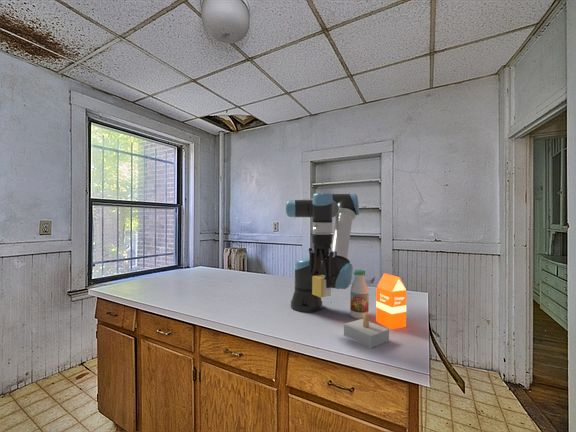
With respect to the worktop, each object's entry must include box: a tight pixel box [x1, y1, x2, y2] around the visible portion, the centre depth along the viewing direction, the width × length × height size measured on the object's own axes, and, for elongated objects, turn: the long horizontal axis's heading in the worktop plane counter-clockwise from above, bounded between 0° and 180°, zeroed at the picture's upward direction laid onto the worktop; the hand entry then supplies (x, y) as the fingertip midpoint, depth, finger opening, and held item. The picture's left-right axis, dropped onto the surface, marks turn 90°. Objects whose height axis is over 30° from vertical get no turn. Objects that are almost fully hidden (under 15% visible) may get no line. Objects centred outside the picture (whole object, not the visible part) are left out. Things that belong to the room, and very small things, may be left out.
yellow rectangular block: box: [312, 275, 332, 299], centre depth 106 cm, size 5×5×7 cm
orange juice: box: [375, 272, 407, 330], centre depth 112 cm, size 8×9×20 cm
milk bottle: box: [349, 269, 370, 320], centre depth 121 cm, size 8×8×20 cm
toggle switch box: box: [343, 312, 390, 349], centre depth 99 cm, size 12×10×8 cm
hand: (321, 293), depth 106 cm, fingers closed on yellow rectangular block, 5 cm apart
